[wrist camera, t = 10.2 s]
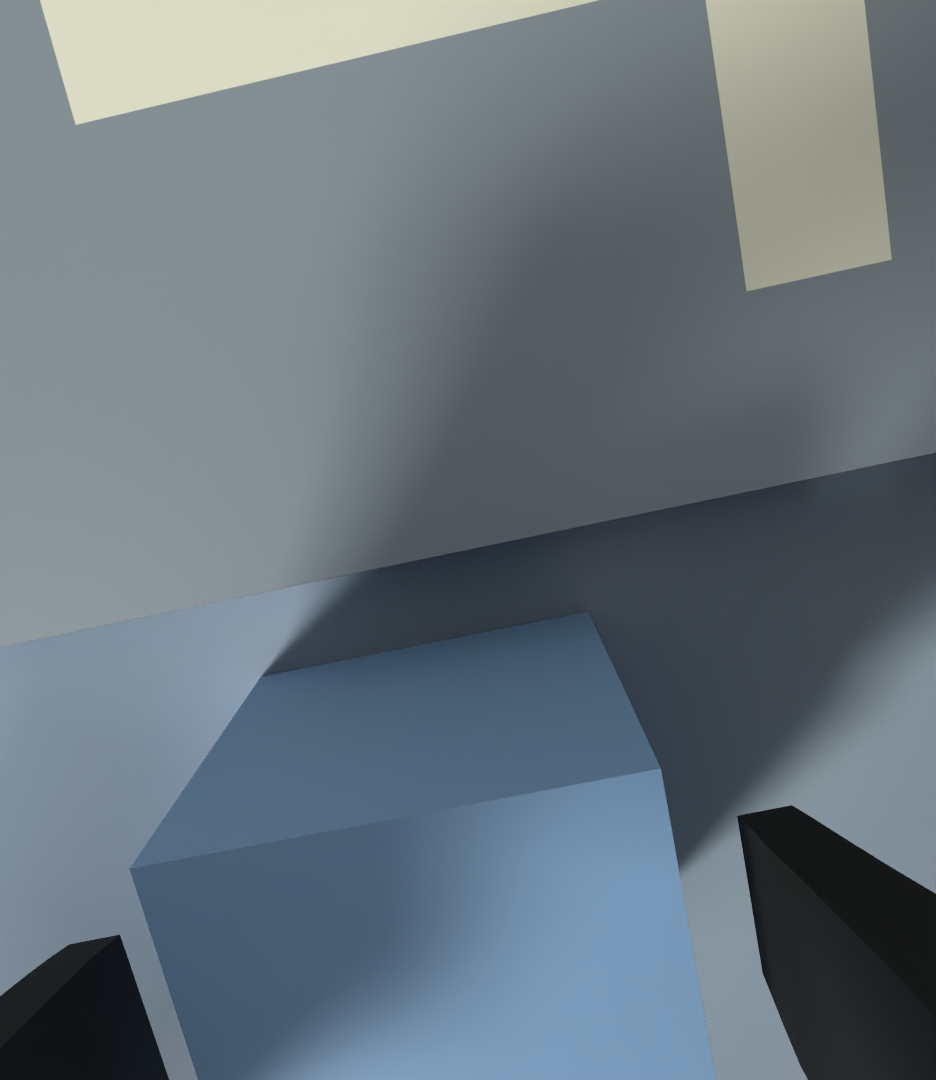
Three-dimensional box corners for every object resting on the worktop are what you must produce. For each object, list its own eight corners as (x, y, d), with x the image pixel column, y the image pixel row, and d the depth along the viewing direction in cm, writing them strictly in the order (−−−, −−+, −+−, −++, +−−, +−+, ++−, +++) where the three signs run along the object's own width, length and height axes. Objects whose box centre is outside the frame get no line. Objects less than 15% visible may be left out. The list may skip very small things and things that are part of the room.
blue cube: (587, 609, 12) (660, 768, 8) (643, 903, 13) (740, 1211, 9) (262, 674, 13) (129, 869, 8) (340, 957, 14) (266, 1287, 9)
